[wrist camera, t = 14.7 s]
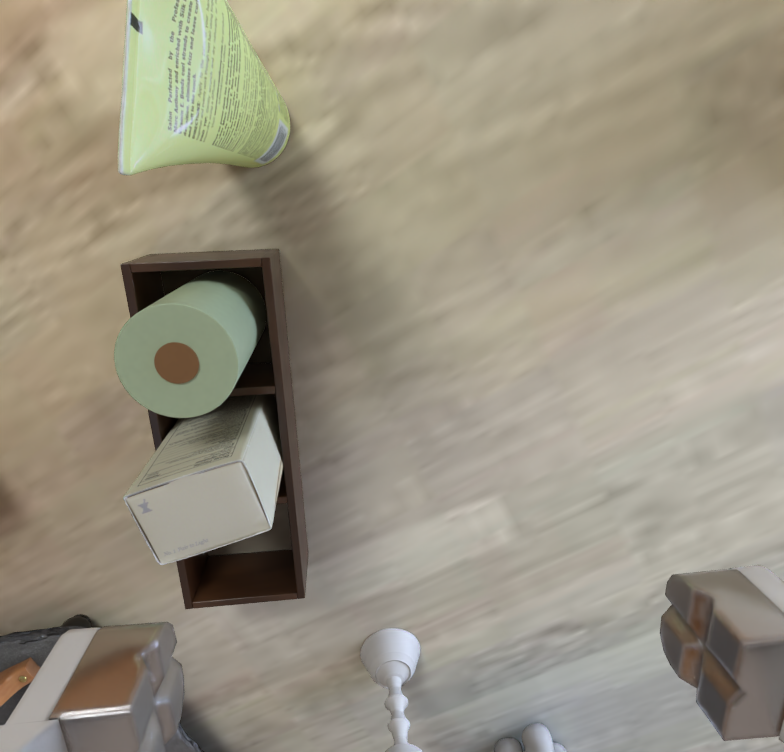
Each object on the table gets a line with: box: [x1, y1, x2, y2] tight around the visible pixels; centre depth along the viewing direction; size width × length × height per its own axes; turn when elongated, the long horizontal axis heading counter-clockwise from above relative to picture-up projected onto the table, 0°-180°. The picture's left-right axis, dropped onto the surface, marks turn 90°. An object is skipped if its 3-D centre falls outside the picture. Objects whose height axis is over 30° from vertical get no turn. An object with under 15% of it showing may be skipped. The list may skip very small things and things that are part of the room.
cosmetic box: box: [123, 394, 283, 565], centre depth 33 cm, size 6×4×12 cm
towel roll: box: [114, 271, 267, 418], centre depth 31 cm, size 6×6×11 cm
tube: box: [118, 0, 290, 175], centre depth 23 cm, size 6×5×20 cm
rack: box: [121, 249, 308, 609], centre depth 36 cm, size 8×23×5 cm, turn 2°
